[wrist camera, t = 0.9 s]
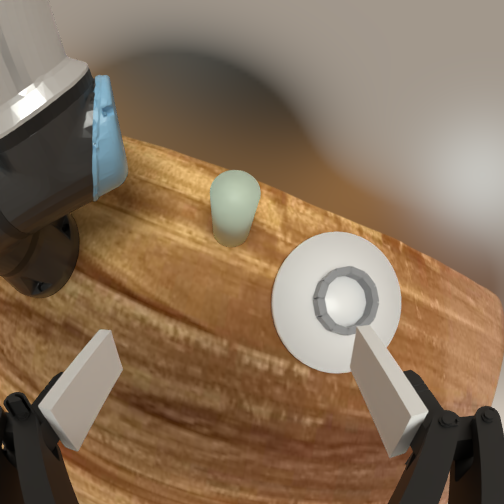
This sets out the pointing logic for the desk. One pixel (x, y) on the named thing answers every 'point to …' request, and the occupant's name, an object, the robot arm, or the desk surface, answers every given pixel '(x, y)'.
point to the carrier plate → (334, 299)
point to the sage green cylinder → (233, 206)
